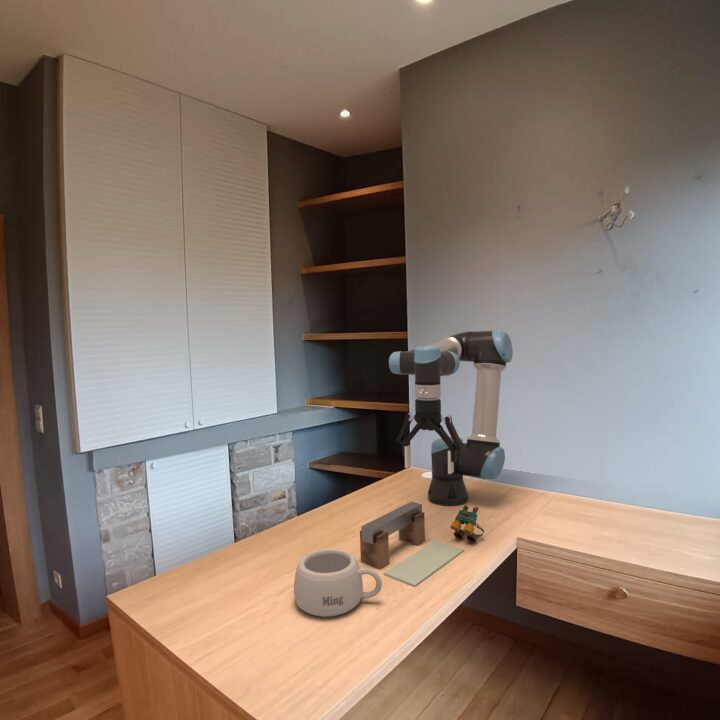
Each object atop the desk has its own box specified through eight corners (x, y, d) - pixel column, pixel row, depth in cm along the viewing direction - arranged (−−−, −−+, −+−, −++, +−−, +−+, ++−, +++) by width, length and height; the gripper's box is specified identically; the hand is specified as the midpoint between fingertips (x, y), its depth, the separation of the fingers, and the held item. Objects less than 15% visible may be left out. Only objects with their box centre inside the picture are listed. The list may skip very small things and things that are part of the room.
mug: (284, 618, 110) (282, 576, 109) (305, 580, 126) (303, 543, 125) (377, 625, 106) (376, 581, 105) (386, 585, 122) (385, 547, 122)
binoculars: (453, 542, 150) (444, 522, 146) (463, 519, 156) (455, 498, 151) (481, 550, 145) (473, 529, 140) (491, 525, 150) (484, 504, 146)
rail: (361, 540, 133) (361, 526, 133) (411, 513, 151) (411, 501, 151) (372, 544, 130) (372, 530, 130) (422, 516, 148) (422, 504, 148)
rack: (360, 562, 135) (359, 530, 135) (406, 535, 152) (405, 507, 151) (380, 569, 131) (379, 537, 130) (425, 541, 147) (424, 512, 146)
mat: (384, 574, 128) (383, 572, 128) (434, 541, 147) (434, 540, 146) (415, 587, 121) (415, 585, 121) (464, 550, 140) (464, 549, 140)
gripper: (384, 398, 144) (385, 467, 145) (465, 402, 132) (465, 478, 133) (395, 395, 151) (396, 462, 152) (473, 398, 138) (474, 471, 139)
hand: (428, 469), depth 142 cm, fingers open, 13 cm apart
